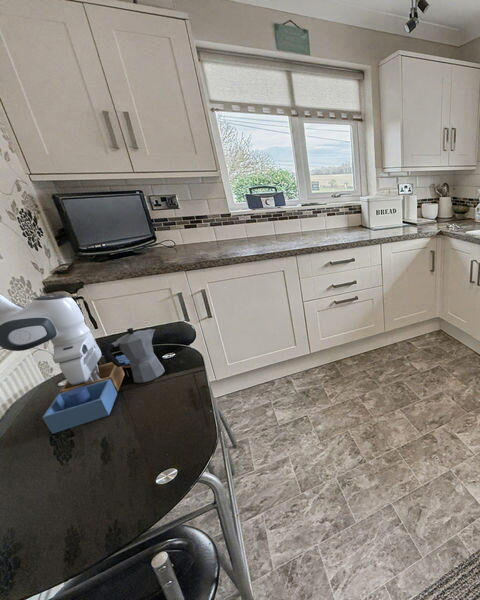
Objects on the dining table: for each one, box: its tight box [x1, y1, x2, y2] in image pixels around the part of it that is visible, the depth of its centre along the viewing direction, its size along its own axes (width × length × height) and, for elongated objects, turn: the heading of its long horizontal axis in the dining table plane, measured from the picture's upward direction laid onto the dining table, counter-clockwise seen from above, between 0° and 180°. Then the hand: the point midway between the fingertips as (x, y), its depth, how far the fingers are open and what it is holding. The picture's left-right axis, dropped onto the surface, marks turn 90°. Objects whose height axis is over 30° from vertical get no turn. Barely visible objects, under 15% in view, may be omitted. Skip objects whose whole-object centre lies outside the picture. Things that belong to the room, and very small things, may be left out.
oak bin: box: [59, 361, 126, 394], centre depth 106 cm, size 12×12×6 cm
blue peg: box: [67, 386, 93, 407], centre depth 94 cm, size 4×4×7 cm
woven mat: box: [114, 354, 131, 369], centre depth 122 cm, size 10×11×2 cm
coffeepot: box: [101, 327, 166, 384], centre depth 108 cm, size 15×9×18 cm, turn 153°
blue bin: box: [42, 379, 118, 435], centre depth 95 cm, size 12×12×6 cm
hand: (94, 381), depth 105 cm, fingers open, 4 cm apart
